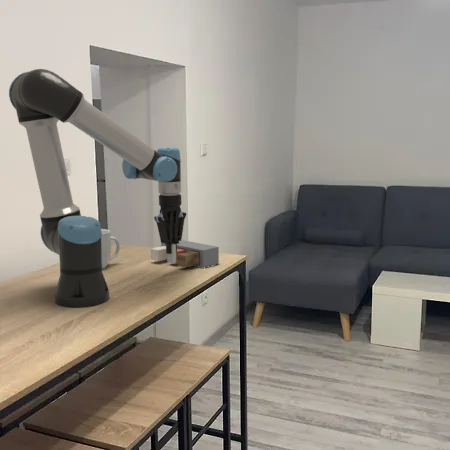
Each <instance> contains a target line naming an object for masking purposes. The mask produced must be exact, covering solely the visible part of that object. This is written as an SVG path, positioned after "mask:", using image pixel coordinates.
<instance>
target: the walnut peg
mask: <svg viewBox="0 0 450 450" xmlns="http://www.w3.org/2000/svg"><path fill="white" fill-rule="evenodd" d="M176 264H177V266H179V267H182V268H189V267H194V266H193V265H197V264H200V252H198V251H190V252H186V253H181V254H177V263H176Z"/></svg>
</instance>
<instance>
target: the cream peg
mask: <svg viewBox="0 0 450 450" xmlns="http://www.w3.org/2000/svg"><path fill="white" fill-rule="evenodd" d="M165 259H168V257H167V253H166V246H156V247H153V248H150V260H151V261H152V260H153V261H157V262H160V261H166V260H165Z"/></svg>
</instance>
